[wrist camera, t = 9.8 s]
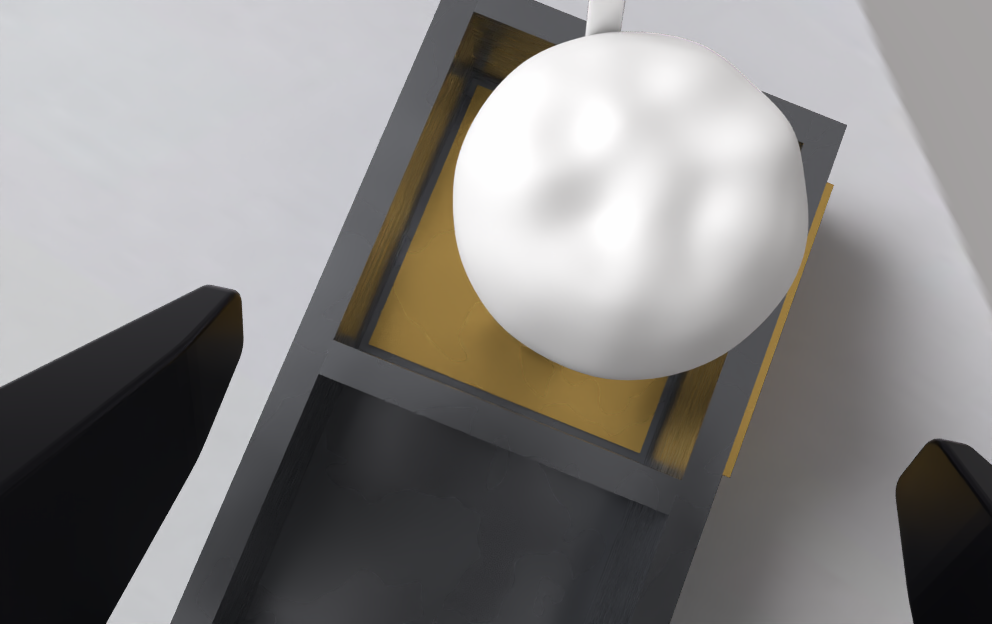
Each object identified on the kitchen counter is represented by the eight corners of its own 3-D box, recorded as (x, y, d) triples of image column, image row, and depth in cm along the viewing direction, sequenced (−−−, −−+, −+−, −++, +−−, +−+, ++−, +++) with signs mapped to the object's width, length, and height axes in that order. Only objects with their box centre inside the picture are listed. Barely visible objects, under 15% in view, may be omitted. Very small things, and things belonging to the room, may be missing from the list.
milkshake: (631, 151, 18) (830, -149, 8) (666, 371, 17) (929, 343, 7) (445, 174, 18) (412, -105, 8) (474, 397, 17) (479, 406, 7)
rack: (414, 1184, 16) (396, 1441, 12) (41, 1031, 16) (-97, 1237, 12) (779, 185, 19) (860, 131, 15) (458, 56, 19) (454, -32, 15)
